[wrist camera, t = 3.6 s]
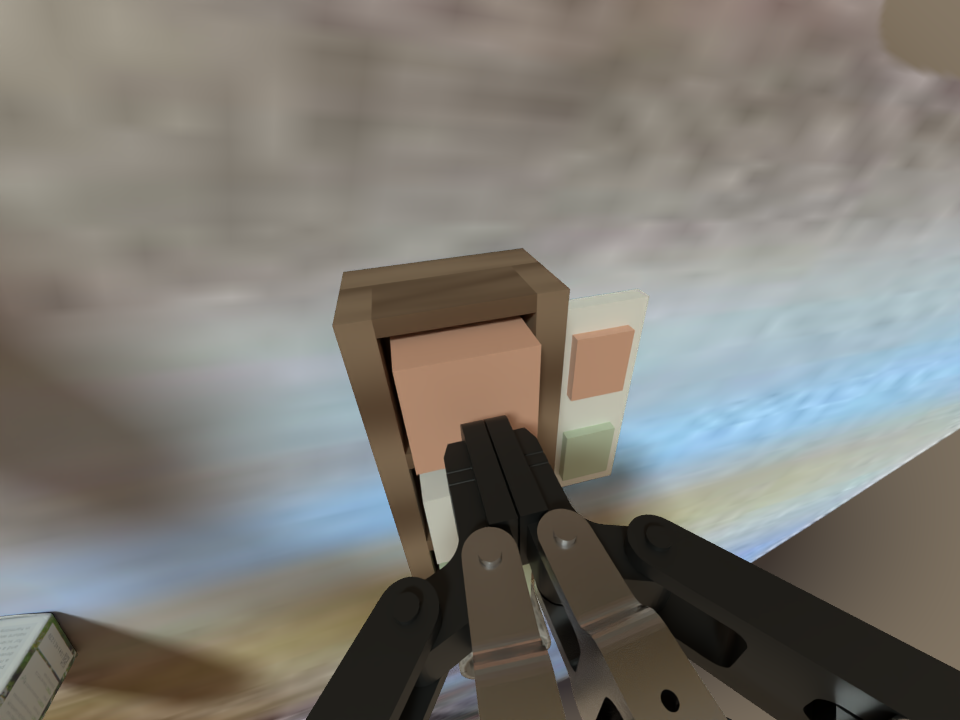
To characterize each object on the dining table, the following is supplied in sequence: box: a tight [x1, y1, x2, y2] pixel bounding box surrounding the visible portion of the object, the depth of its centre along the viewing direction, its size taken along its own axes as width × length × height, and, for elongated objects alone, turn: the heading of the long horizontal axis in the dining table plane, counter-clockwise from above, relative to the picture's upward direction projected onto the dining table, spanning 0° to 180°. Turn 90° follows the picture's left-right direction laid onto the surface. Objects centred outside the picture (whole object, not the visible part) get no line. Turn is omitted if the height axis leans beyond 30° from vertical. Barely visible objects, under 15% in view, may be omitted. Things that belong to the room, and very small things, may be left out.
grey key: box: [419, 469, 459, 564], centre depth 18 cm, size 5×5×2 cm
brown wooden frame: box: [332, 248, 570, 580], centre depth 20 cm, size 20×8×5 cm, turn 3°
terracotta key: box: [390, 315, 541, 475], centre depth 14 cm, size 5×5×2 cm
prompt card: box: [554, 289, 649, 487], centre depth 22 cm, size 14×5×2 cm, turn 3°
